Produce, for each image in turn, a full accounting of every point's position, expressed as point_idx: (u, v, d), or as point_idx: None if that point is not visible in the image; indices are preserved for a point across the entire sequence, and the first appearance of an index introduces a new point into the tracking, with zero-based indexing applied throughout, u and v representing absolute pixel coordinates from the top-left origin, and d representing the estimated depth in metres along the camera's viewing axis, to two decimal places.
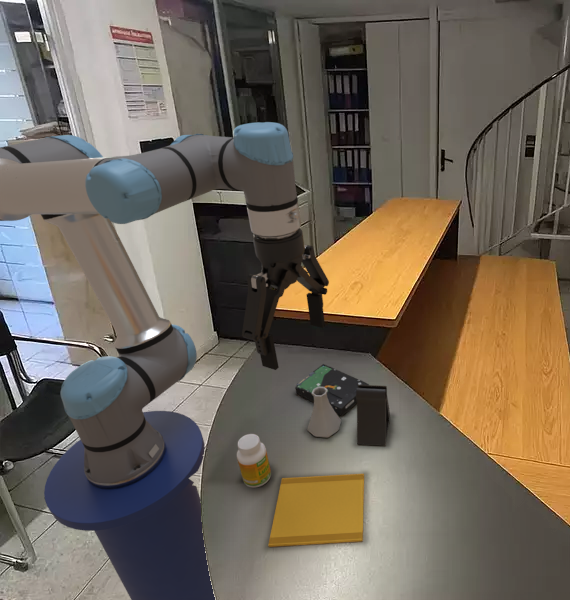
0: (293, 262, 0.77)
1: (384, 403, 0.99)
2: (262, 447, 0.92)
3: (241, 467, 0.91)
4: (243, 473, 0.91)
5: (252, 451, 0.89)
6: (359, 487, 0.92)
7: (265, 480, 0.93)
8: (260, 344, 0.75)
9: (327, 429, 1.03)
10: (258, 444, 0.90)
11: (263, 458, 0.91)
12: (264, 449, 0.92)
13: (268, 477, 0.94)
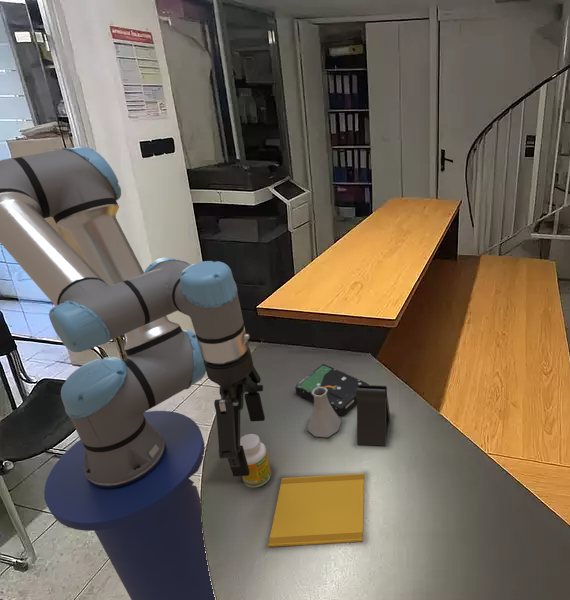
0: None
1: (384, 403, 0.99)
2: (262, 447, 0.92)
3: None
4: None
5: (252, 451, 0.89)
6: (359, 487, 0.92)
7: (265, 480, 0.93)
8: (235, 458, 0.81)
9: (327, 429, 1.03)
10: (258, 444, 0.90)
11: (263, 458, 0.91)
12: (264, 449, 0.92)
13: (268, 477, 0.94)
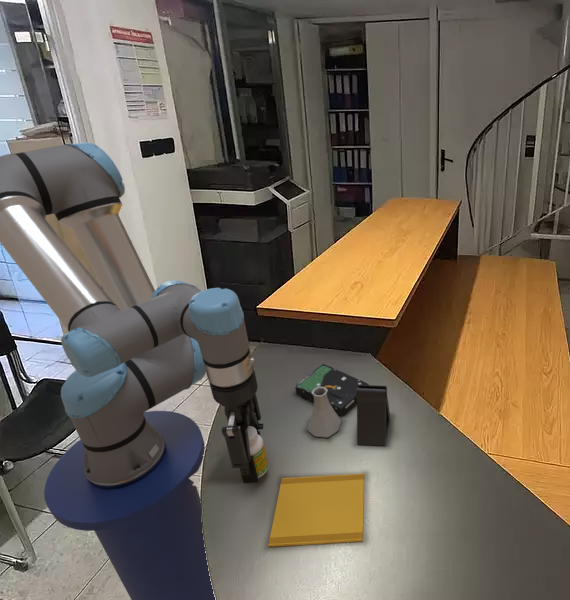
0: None
1: (384, 403, 0.99)
2: (259, 439, 0.91)
3: None
4: None
5: (249, 443, 0.88)
6: (359, 487, 0.92)
7: (262, 472, 0.92)
8: (245, 467, 0.87)
9: (327, 429, 1.03)
10: (255, 436, 0.89)
11: (260, 450, 0.90)
12: (261, 441, 0.91)
13: (265, 470, 0.93)
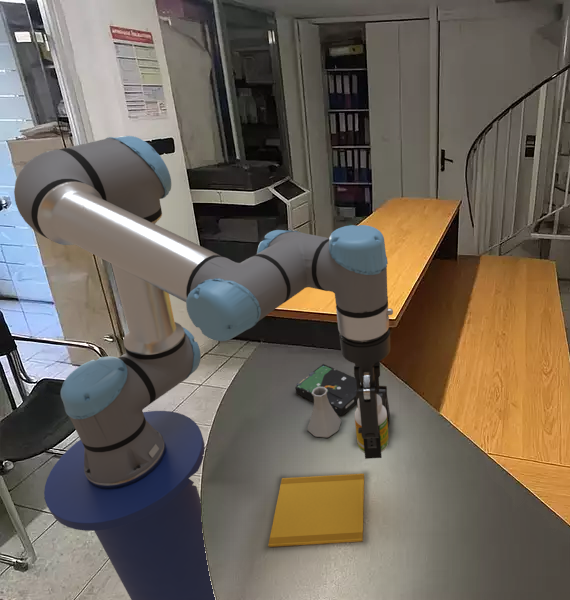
0: None
1: (384, 403, 0.99)
2: (382, 408, 0.80)
3: None
4: None
5: None
6: (359, 487, 0.92)
7: (384, 446, 0.81)
8: (373, 439, 0.76)
9: (327, 429, 1.03)
10: (381, 403, 0.78)
11: (385, 420, 0.79)
12: (385, 410, 0.80)
13: (387, 444, 0.82)
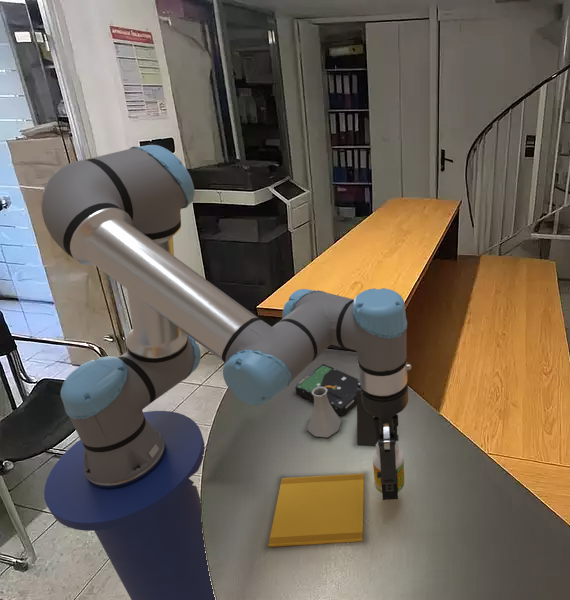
0: None
1: None
2: (399, 452, 0.84)
3: None
4: (380, 480, 0.84)
5: None
6: (359, 487, 0.92)
7: (401, 488, 0.86)
8: None
9: (327, 429, 1.03)
10: (398, 449, 0.83)
11: (402, 463, 0.83)
12: (402, 454, 0.84)
13: (403, 485, 0.86)
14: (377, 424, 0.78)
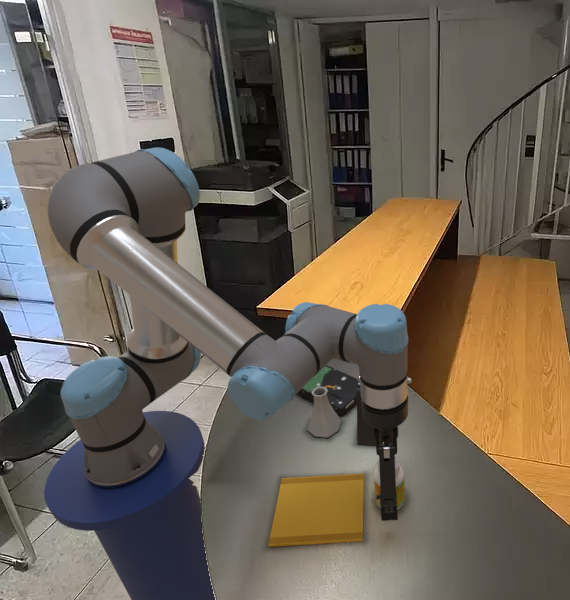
0: None
1: None
2: (400, 469, 0.86)
3: None
4: None
5: None
6: (359, 487, 0.92)
7: (401, 503, 0.88)
8: None
9: (327, 429, 1.03)
10: (399, 466, 0.85)
11: (402, 480, 0.86)
12: (402, 471, 0.86)
13: (403, 501, 0.88)
14: None
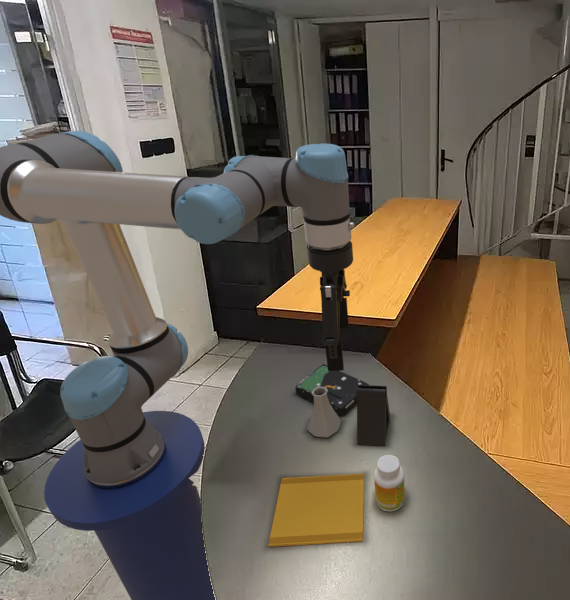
0: None
1: (384, 403, 0.99)
2: (400, 469, 0.86)
3: (380, 490, 0.85)
4: (381, 496, 0.86)
5: (394, 474, 0.84)
6: (359, 487, 0.92)
7: (401, 503, 0.88)
8: (334, 348, 0.81)
9: (327, 429, 1.03)
10: (399, 466, 0.85)
11: (402, 480, 0.86)
12: (402, 471, 0.86)
13: (403, 501, 0.88)
14: (323, 284, 0.82)
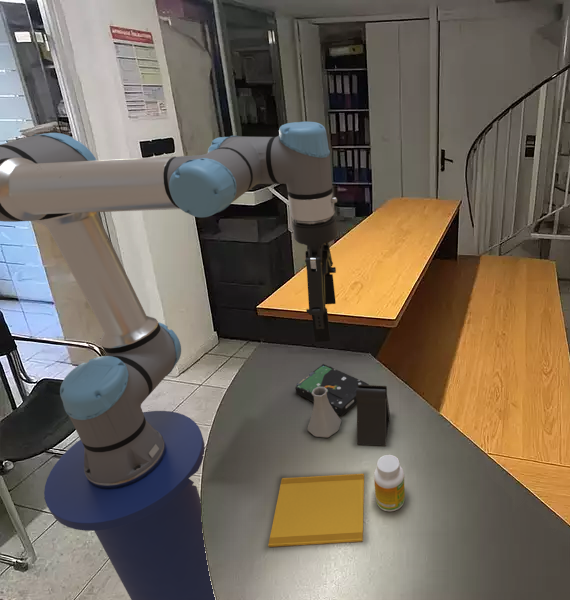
0: (324, 244, 0.88)
1: (384, 403, 0.99)
2: (400, 469, 0.86)
3: (380, 490, 0.85)
4: (381, 496, 0.86)
5: (394, 474, 0.84)
6: (359, 487, 0.92)
7: (401, 503, 0.88)
8: (320, 319, 0.84)
9: (327, 429, 1.03)
10: (399, 466, 0.85)
11: (402, 480, 0.86)
12: (402, 471, 0.86)
13: (403, 501, 0.88)
14: None
